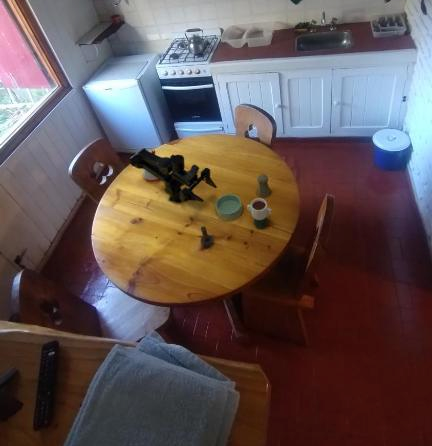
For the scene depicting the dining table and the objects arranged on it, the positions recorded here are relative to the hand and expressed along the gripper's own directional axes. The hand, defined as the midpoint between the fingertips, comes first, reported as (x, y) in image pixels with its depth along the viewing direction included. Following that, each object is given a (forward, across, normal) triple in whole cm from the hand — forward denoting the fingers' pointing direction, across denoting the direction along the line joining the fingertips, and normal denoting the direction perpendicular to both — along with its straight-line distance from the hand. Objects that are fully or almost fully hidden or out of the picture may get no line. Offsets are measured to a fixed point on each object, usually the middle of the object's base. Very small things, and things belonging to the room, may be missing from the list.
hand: (210, 194), depth 152 cm
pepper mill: (+14, +25, +13) cm, 31 cm away
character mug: (+23, +8, +11) cm, 27 cm away
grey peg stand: (+9, -13, +14) cm, 21 cm away
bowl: (+6, +7, +15) cm, 18 cm away
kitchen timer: (-44, +7, +27) cm, 52 cm away
